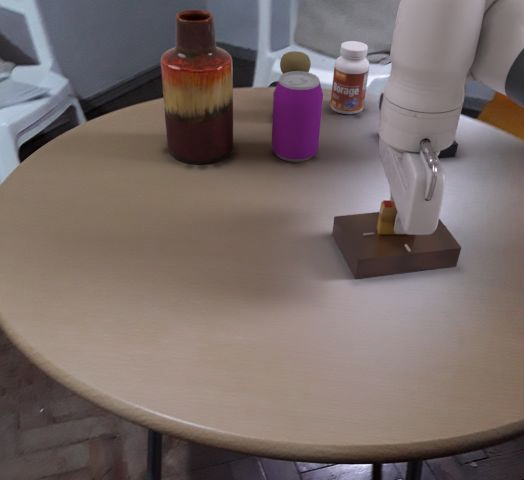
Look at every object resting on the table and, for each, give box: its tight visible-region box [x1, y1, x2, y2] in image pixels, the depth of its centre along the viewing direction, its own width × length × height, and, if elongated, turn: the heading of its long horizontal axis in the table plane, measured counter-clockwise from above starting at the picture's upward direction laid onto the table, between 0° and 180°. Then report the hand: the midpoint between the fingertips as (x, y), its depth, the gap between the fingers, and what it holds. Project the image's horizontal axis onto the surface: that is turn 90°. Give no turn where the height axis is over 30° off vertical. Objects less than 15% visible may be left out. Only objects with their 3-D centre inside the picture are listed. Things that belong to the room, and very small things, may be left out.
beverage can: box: [271, 71, 324, 163], centre depth 100 cm, size 8×8×12 cm
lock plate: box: [331, 211, 462, 280], centre depth 84 cm, size 14×10×3 cm
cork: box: [279, 50, 312, 74], centre depth 109 cm, size 6×6×11 cm
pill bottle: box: [329, 40, 371, 115], centre depth 113 cm, size 6×6×11 cm
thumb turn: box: [377, 199, 409, 235], centre depth 81 cm, size 5×2×4 cm, turn 92°
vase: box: [160, 9, 234, 165], centre depth 97 cm, size 11×11×20 cm
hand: (397, 224), depth 82 cm, fingers closed, pressing on thumb turn
